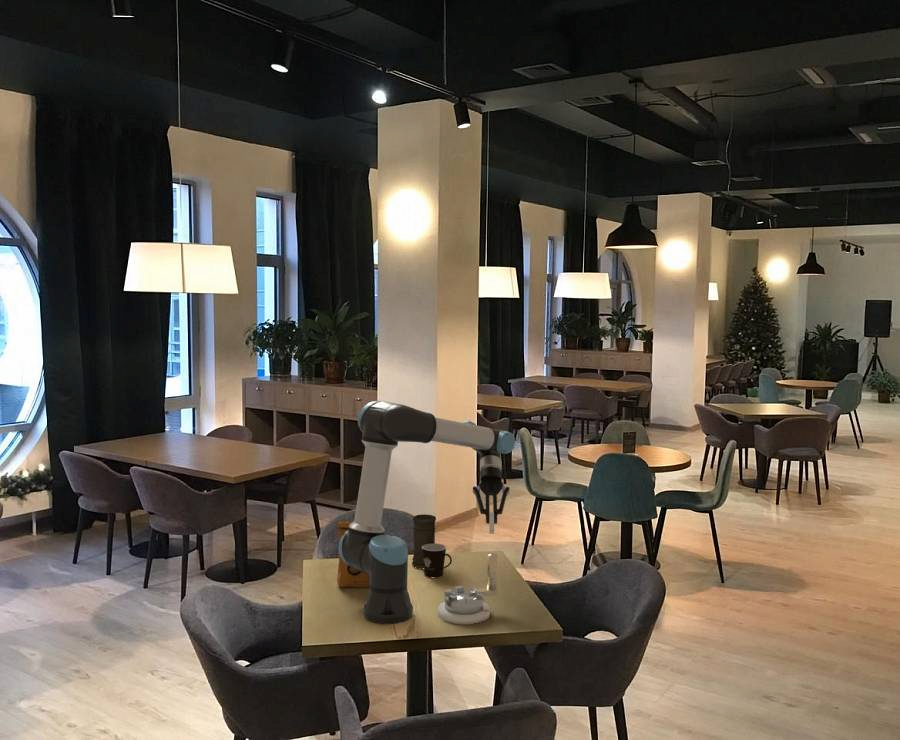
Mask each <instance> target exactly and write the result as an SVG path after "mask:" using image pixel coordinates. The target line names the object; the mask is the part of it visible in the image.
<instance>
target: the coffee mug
mask: <svg viewBox="0 0 900 740" xmlns="http://www.w3.org/2000/svg"><path fill="white" fill-rule="evenodd" d="M446 552H447V545H444V544H441V543H435V544H426V545H423V546H422V554H423V564H424V569H423V571H424V576H425V575H426V576H428V577H427V578H429V577H439V578H441V577H440V576H442V575H443V574H444V569H446V568H448V567H449V566H451V564H452V562H453V559H452V557H451V555H450V554H448V553H446ZM446 557H448V558H449V563H448V564H447V565H445V561H446V560H445V559H446ZM426 576H425V577H426ZM442 577H443V576H442Z"/></svg>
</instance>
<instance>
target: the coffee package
mask: <svg viewBox="0 0 900 740" xmlns="http://www.w3.org/2000/svg"><path fill="white" fill-rule="evenodd" d="M352 522H353V521H338V522H337V523H338V524H337V528H338V541H339V543H340V540H341V538H342V536H344V535H345V533H346V532H347V531H348V528H349V525H350V524H351V523H352ZM339 543H338V544H339ZM337 553H338V566H337V567H338V568H337V575H336V576H337V578H336V583H337V586H338V587H339V588H340V587H343V588H369V585H370V584H369V575H368V574H366V573H363V572H361V571H359V570H357V569H354V568H351V567H350V566H349V565H347V564H346V563H345V562H344V561H343V560H342V558H341V556H340V553H339V551H337Z"/></svg>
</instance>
